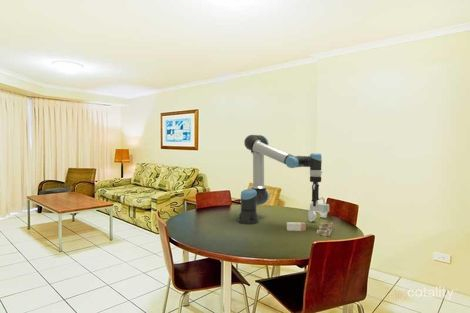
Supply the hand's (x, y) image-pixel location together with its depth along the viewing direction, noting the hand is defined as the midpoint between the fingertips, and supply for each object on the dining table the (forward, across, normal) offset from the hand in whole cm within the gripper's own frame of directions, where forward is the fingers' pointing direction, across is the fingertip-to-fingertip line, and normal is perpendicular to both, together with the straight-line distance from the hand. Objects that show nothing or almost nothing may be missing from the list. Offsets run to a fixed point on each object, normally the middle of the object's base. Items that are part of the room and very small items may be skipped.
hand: (315, 210), depth 198 cm
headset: (+13, +24, +2) cm, 28 cm away
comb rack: (+13, -5, -8) cm, 16 cm away
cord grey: (0, 0, -3) cm, 3 cm away
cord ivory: (+13, -9, +11) cm, 19 cm away
